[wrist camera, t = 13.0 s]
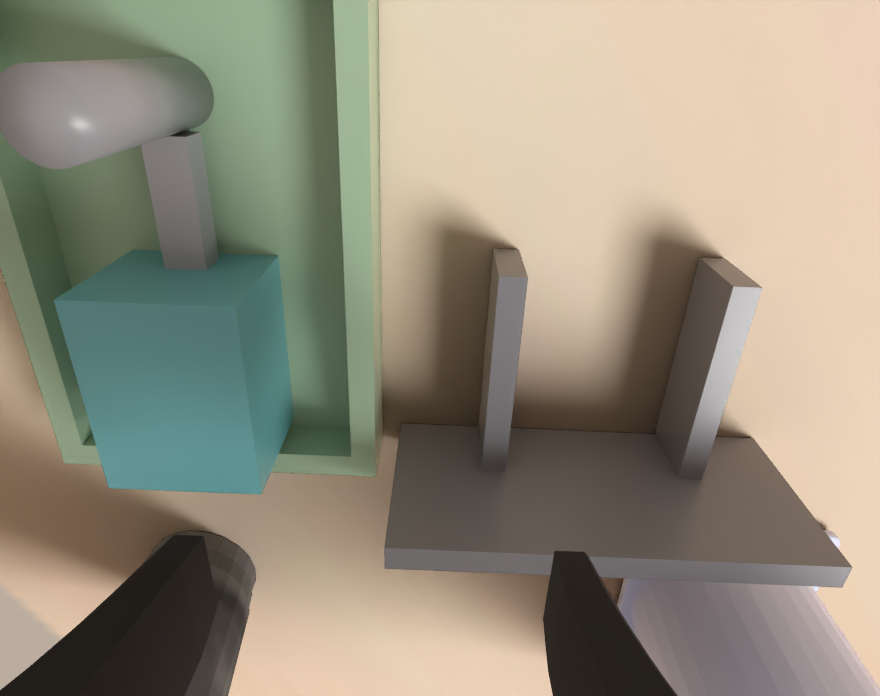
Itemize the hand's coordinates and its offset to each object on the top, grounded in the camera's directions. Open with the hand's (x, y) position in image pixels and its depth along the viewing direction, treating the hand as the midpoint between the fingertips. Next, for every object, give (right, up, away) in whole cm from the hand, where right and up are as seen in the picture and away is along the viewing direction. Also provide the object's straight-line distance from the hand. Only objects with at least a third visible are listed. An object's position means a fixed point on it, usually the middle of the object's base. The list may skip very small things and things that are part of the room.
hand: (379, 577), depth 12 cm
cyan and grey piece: (-6, +7, +6) cm, 11 cm away
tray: (-6, +8, +6) cm, 12 cm away
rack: (+6, +5, +8) cm, 11 cm away
